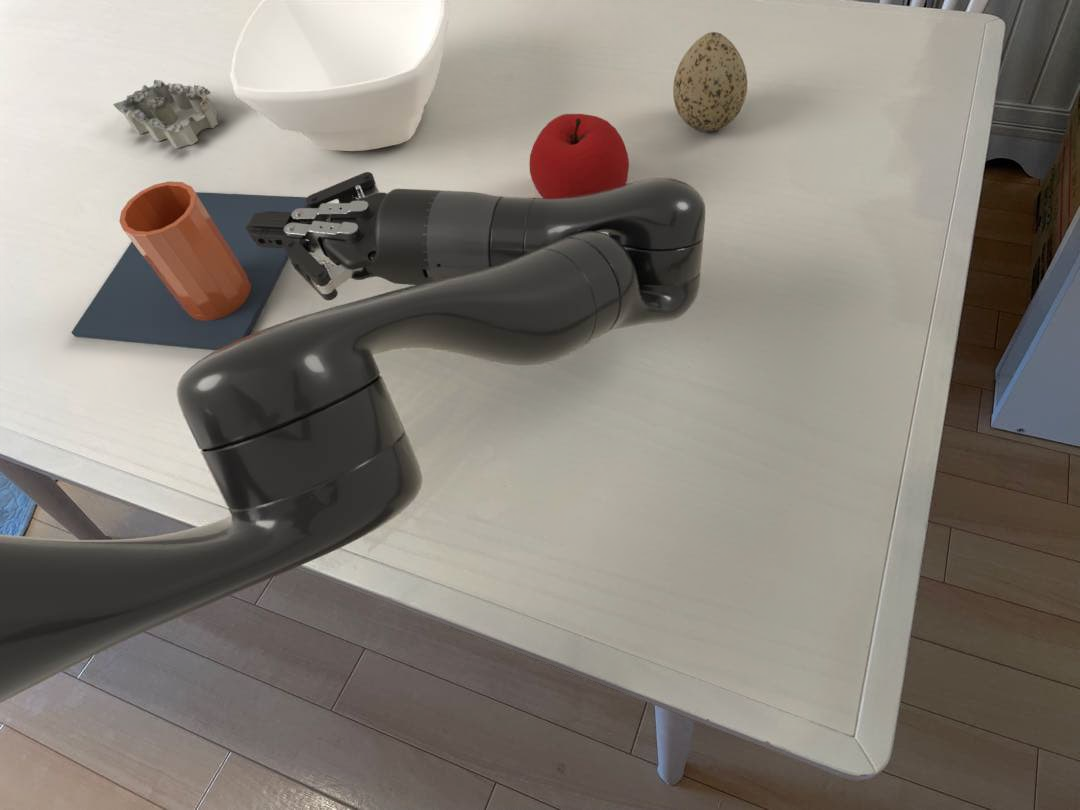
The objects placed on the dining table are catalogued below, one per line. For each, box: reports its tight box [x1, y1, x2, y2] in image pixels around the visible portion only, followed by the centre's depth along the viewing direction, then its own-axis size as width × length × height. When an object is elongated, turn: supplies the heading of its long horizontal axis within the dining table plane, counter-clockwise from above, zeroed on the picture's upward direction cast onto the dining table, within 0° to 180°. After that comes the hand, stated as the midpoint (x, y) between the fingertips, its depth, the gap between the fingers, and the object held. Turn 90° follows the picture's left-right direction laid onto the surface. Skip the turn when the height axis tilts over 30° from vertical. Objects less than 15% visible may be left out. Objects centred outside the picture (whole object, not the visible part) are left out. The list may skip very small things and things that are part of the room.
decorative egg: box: [672, 31, 748, 132], centre depth 77 cm, size 7×7×10 cm
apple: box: [528, 113, 630, 198], centre depth 74 cm, size 9×9×10 cm
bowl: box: [229, 0, 451, 152], centre depth 84 cm, size 22×22×12 cm
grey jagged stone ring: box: [113, 79, 219, 149], centre depth 92 cm, size 11×8×4 cm
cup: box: [118, 181, 251, 321], centre depth 71 cm, size 7×7×11 cm
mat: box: [70, 191, 308, 351], centre depth 79 cm, size 20×18×1 cm
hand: (253, 228), depth 67 cm, fingers closed
